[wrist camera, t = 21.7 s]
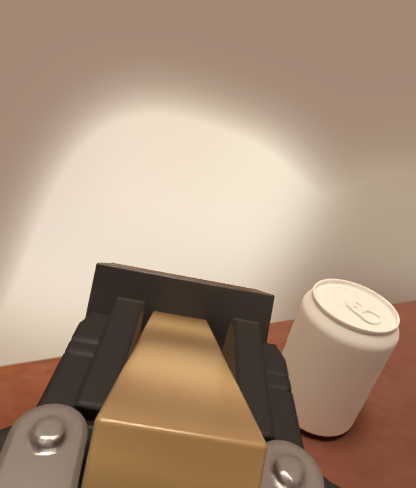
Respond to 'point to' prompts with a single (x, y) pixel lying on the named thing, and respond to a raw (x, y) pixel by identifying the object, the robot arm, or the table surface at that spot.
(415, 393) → the table surface
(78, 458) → the robot arm
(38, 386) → the table surface
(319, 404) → the beverage can
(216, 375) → the mallet
